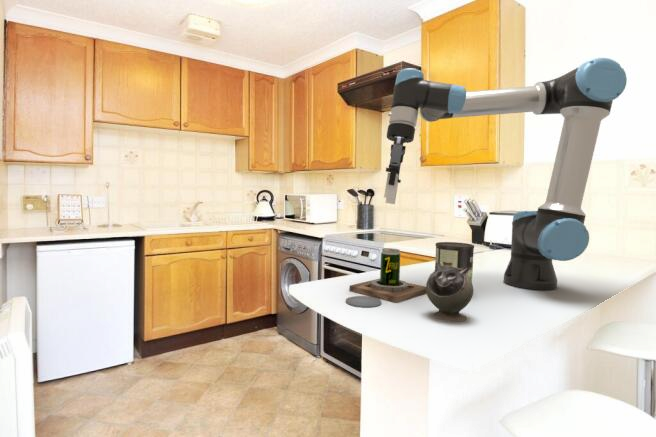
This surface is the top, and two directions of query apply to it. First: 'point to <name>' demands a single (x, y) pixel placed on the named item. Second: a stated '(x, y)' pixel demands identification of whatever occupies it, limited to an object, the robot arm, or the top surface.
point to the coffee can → (455, 255)
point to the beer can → (390, 267)
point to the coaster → (363, 301)
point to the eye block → (389, 290)
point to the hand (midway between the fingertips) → (389, 201)
